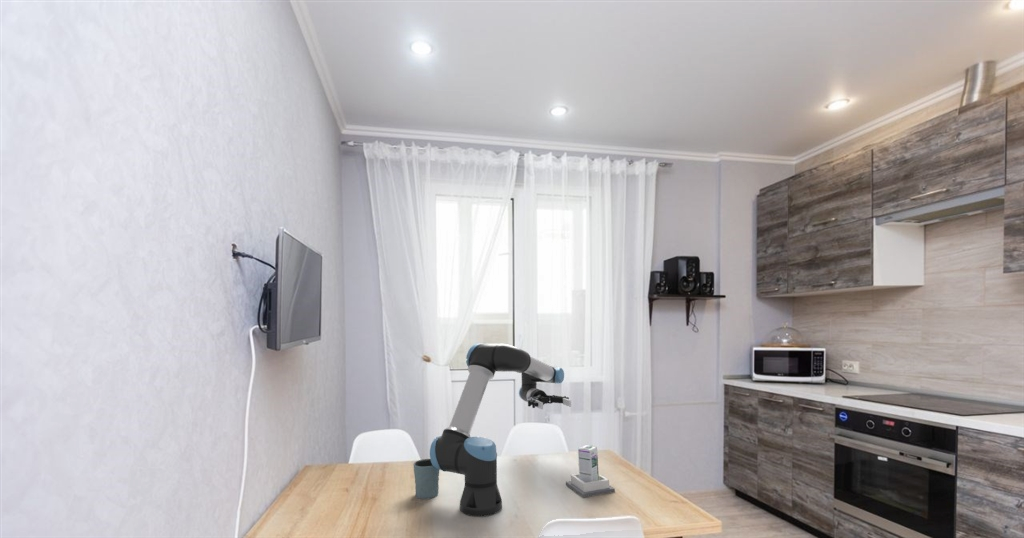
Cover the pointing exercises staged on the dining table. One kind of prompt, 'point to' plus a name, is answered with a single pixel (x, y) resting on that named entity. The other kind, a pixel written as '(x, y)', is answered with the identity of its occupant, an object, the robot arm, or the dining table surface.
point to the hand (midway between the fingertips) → (556, 404)
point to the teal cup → (426, 479)
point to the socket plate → (589, 486)
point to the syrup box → (588, 463)
